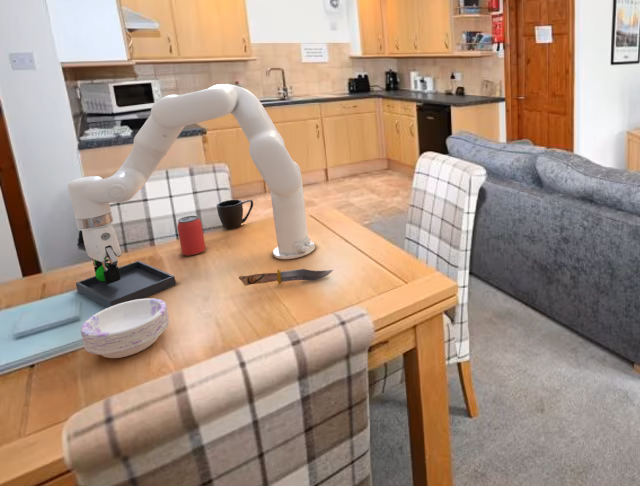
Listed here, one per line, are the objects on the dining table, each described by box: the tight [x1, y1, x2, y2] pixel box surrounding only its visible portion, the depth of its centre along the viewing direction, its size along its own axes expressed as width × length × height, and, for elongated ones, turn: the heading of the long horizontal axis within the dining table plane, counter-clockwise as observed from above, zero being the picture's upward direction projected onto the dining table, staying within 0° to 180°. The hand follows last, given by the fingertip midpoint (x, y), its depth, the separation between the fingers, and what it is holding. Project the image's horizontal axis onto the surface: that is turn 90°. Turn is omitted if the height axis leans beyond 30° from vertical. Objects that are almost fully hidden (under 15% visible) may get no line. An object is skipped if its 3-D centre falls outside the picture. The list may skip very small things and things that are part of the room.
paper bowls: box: [80, 297, 170, 359], centre depth 106 cm, size 15×15×8 cm
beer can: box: [176, 215, 206, 257], centre depth 154 cm, size 7×7×12 cm
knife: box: [238, 268, 334, 287], centre depth 132 cm, size 25×1×5 cm, turn 108°
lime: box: [94, 264, 108, 282], centre depth 133 cm, size 5×5×5 cm
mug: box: [216, 199, 254, 230], centre depth 176 cm, size 8×12×10 cm
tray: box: [75, 260, 177, 309], centre depth 132 cm, size 21×15×3 cm
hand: (108, 279), depth 133 cm, fingers closed on lime, 5 cm apart
